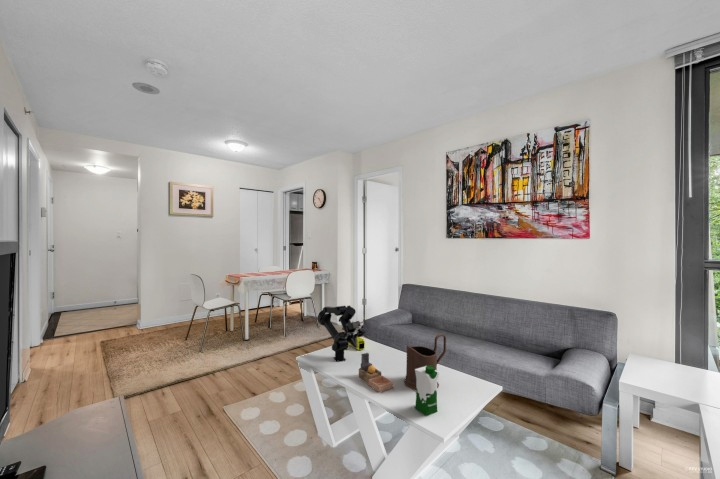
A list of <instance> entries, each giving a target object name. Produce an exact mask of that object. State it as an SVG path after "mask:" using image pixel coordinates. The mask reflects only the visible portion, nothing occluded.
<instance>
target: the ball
mask: <svg viewBox="0 0 720 479" xmlns="http://www.w3.org/2000/svg"><path fill="white" fill-rule="evenodd" d="M375 368H376V367H375V366H374V365H373V364H372V365H371V366H369V367H368V371H369V373H374V372H375Z"/></svg>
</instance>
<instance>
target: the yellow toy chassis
mask: <svg viewBox="0 0 720 479" xmlns="http://www.w3.org/2000/svg"><path fill="white" fill-rule="evenodd" d="M365 345H366V341H365V340H364V338H362V337H357V348H355V347H354V346H353V345H351V344H350V343H349V342H348V346H350V347H352V348H354V349H356V350H357V351H361V350H365V349H366V348H365V347H366V346H365Z"/></svg>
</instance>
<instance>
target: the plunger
mask: <svg viewBox="0 0 720 479" xmlns="http://www.w3.org/2000/svg"><path fill="white" fill-rule="evenodd" d="M360 362H361V363H360V368H361V369H362V370H364V371H368V367H369V366H371V365H372V366H373V364H372V363H371V362H370V353H369V352H364V353H361V360H360Z"/></svg>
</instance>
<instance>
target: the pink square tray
mask: <svg viewBox="0 0 720 479" xmlns="http://www.w3.org/2000/svg"><path fill="white" fill-rule="evenodd" d="M367 385H368V386H369V387H370V388H372V389H373V390H375V391H376V392H377V393H383V392H385V391H388V390H391V389H393V388H394V381H392V380H391V379H389V378H387V377H386V376H384V375H381V376H379V377H375V378H372V379H369V380H368V384H367Z"/></svg>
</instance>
